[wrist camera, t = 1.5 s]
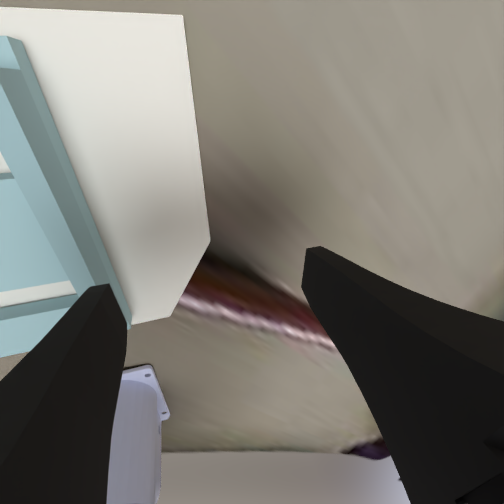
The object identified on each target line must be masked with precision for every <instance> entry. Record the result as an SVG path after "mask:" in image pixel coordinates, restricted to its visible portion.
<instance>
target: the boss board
mask: <svg viewBox="0 0 504 504" xmlns="http://www.w3.org/2000/svg"><path fill="white" fill-rule="evenodd" d="M0 36H9V37H12V38H15V39H18V40H21V41H22V43H23V46H24V48H25V51H26V53H27V56H28V58H29V61H30V63H31V66H32V68H33V71H34V73H35V76H36V78H37V81H38V83H39V86H40V88H41V91H42V93H43V96H44V98H45V101H46V103H47V106H48V108H49V110H50V113H51V115H52V118H53V120H54V123H55V125H56V128H57V130H58V133H59V135H60V138H61V140H62V143H63V145H64V148H65V150H66V153H67V155H68V158H69V160H70V163H71V165H72V168H73V170H74V173H75V175H76V178H77V180H78V183H79V185H80V188H81V190H82V193H83V195H84V197H85V200H86V202H87V205H88V207H89V210H90V212H91V215H92V217H93V220H94V222H95V225H96V227H97V230H98V232H99V235H100V237H101V240H102V242H103V245H104V247H105V250H106V252H107V255H108V257H109V260H110V262H111V265H112V267H113V270H114V272H115V275H116V277H117V280H118V282H119V284H120V287H121V289H122V292H123V294H124V297H125V299H126V302H127V304H128V307H129V309H130V312H131V314H132V322H131V325H133V324H138V323H142V322H147V321H151V320H156V319H161V318H165V317H170V315H171V314H172V312H173V310H174V308H175V306H176V304H177V302H178V301H179V299H180V297H181V295H182V293H183V291H184V289H185V288H186V286H187V284H188V282H189V280H190V278H191V276H192V274H193V273H194V271H195V269H196V267H197V265H198V263H199V261H200V260H201V258H202V256H203V254H204V252H205V250H206V248H207V247H208V245H209V243H210V241H211V240H210V232H209V224H208V216H207V208H206V200H205V192H204V184H203V175H202V167H201V159H200V151H199V143H198V135H197V127H196V119H195V111H194V102H193V94H192V86H191V78H190V70H189V62H188V54H187V46H186V38H185V29H184V21H183V15H169V14H147V13H125V12H102V11H80V10H58V9H36V8H14V7H0ZM0 173H11V171H10V169H9V167H8V165H7V163H6V162H5V160H4V158H3V156H2V154H1V152H0ZM75 294H77V293H76V291H75V289H74V288H73V286H72V284H71V282H70V280H68V281H63V282H57V283H51V284H45V285H39V286H33V287H28V288H22V289H16V290H10V291H4V292H0V308H4V307H10V306H15V305H21V304H26V303H32V302H37V301H43V300H48V299H53V298H59V297H64V296H70V295H75Z"/></svg>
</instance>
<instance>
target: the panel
mask: <svg viewBox="0 0 504 504" xmlns="http://www.w3.org/2000/svg"><path fill="white" fill-rule="evenodd" d="M0 152H1V154H2V156H3V158H4V160H5V162H6V163H7V165H8V167H9V169H10V171H11V173H0V292H4V291H10V290H16V289H22V288H28V287H33V286H39V285H45V284H51V283H57V282H63V281H68V280H70V282H71V284H72V286H73V288H74V289H75V291H76V293H77V294H75V295H70V296H64V297H59V298H53V299H48V300H43V301H37V302H32V303H26V304H21V305H15V306H10V307H4V308H0V357H5V356H10V355H14V354H19V353H23V352H28V351H31V350H32V349H33V348H34V347H35V346H36V345H37V344H38V343H39V342H40V341H41V340H42V339H43V337H44V336H45V335H46V334H47V333H48V332H49V331H50V330H51V329H52V328H53V326H54V325H55V324H56V323H57V322H58V321H59V320H60V319H61V318H62V317H63V315H64V314H65V313H66V312H67V311H68V310H69V309H70V308H71V306H72V305H73V304H74V303H75V302H76V301H77V300H78V299H79V297H80V296H81V295H82V294H83V293H84V292H85V291H86V290H87V289H88V288H89V287H91V286H96V285H102V284H108V283H110V286H111V288H112V290H113V292H114V295H115V297H116V299H117V302H118V304H119V306H120V308H121V311H122V313H123V315H124V317H125V320H126V322H127V329H131V322H132V314H131V312H130V309H129V307H128V304H127V302H126V299H125V297H124V294H123V292H122V289H121V287H120V284H119V282H118V280H117V277H116V275H115V272H114V270H113V267H112V265H111V262H110V260H109V257H108V255H107V252H106V250H105V247H104V245H103V242H102V240H101V237H100V235H99V232H98V230H97V227H96V225H95V222H94V220H93V217H92V215H91V212H90V210H89V207H88V205H87V202H86V200H85V197H84V195H83V193H82V190H81V188H80V185H79V183H78V180H77V178H76V175H75V173H74V170H73V168H72V165H71V163H70V160H69V158H68V155H67V153H66V150H65V148H64V145H63V143H62V140H61V138H60V135H59V133H58V130H57V128H56V125H55V123H54V120H53V118H52V115H51V113H50V110H49V108H48V106H47V103H46V101H45V98H44V96H43V93H42V91H41V88H40V86H39V83H38V81H37V78H36V76H35V73H34V71H33V68H32V66H31V63H30V61H29V58H28V56H27V53H26V51H25V48H24V46H23V43H22V41H21V40H18V39H15V38H12V37H9V36H0Z"/></svg>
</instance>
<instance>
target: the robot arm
mask: <svg viewBox="0 0 504 504" xmlns="http://www.w3.org/2000/svg"><path fill="white" fill-rule="evenodd" d="M301 288H302V290H303V292H304V294H305V297H306V299H307V301H308V303H309V305H310V307H311V309H312V310H313V312H314V314H315V315H316V317H317V318H318V320H319V321H320V323H321V325H322V326H323V328H324V329H325V331H326V332H327V334H328V335H329V337H330V338H331V340H332V341H333V343H334V345H335V346H336V348H337V349H338V351H339V352H340V354H341V355H342V357H343V359H344V360H345V362H346V364H347V365H348V367H349V369H350V371H351V373H352V375H353V377H354V379H355V381H356V383H357V384H358V386H359V388H360V390H361V392H362V394H363V396H364V398H365V400H366V402H367V405H368V407H369V409H370V411H371V413H372V415H373V417H374V419H375V421H376V423H377V425H378V428H379V430H380V432H381V434H382V436H383V439H384V441H385V443H386V445H387V447H388V450H389V452H390V454H391V457H392V459H393V461H394V464H395V466H396V469H397V471H398V473H399V476H400V478H401V480H402V483H403V485H404V488H405V490H406V493H407V495H408V498H409V500H410V503H411V504H504V322H503V321H500V320H496V319H493V318H489V317H486V316H482V315H479V314H476V313H473V312H470V311H466V310H463V309H460V308H457V307H454V306H451V305H448V304H445V303H443V302H440V301H437V300H434V299H432V298H429V297H427V296H424V295H421V294H419V293H416V292H414V291H411V290H409V289H407V288H404V287H402V286H400V285H398V284H395V283H393V282H391V281H389V280H387V279H385V278H383V277H380V276H378V275H376V274H374V273H372V272H370V271H368V270H366V269H364V268H362V267H361V266H359V265H357V264H355V263H353V262H351V261H349V260H347V259H345V258H343V257H342V256H340V255H338V254H336V253H334V252H332V251H330V250H328V249H326V248H324V247H321V246H318V247H312V248H307V249H306V256H305V263H304V270H303V278H302V285H301ZM126 346H127V322H126V320H125V317H124V315H123V313H122V311H121V308H120V306H119V304H118V302H117V299H116V297H115V295H114V292H113V290H112V288H111V286H110V283H108V284H102V285H96V286H91V287H89V288H88V289H87V290H86V291H85V292H84V293H83V294H82V295H81V296H80V297H79V299H78V300H77V301H76V302H75V303H74V304H73V305H72V306H71V308H70V309H69V310H68V311H67V312H66V313H65V314H64V315H63V317H62V318H61V319H60V320H59V321H58V322H57V323H56V324H55V325H54V326H53V328H52V329H51V330H50V331H49V332H48V333H47V334H46V335H45V336H44V337H43V339H42V340H41V341H40V342H39V343H38V344H37V345H36V346H35V347H34V348H33V349H32V350H31V351H30V352H29V353H28V354H27V355H26V356H25V357H24V358H23V359H22V360H21V361H20V362H19V363H18V364H17V365H16V366H15V367H14V368H13V369H12V370H11V371H10V372H9V373H8V374H7V375H6V376H5V377H4V378H3V379H2V380H1V381H0V504H157V501H158V498H159V494H160V488H161V421H163V420H167V419H168V418H169V416H170V413H169V410H168V407H167V404H166V401H165V399H164V396H163V393H162V390H161V388H160V385H159V382H158V380H157V377H156V375H155V372H154V370H153V367H152V366H151V365H144V366H140V367H136V368H132V369H128V370H124V371H123V367H124V362H125V356H126ZM162 412H166V413H165V414H163V413H162Z"/></svg>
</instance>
